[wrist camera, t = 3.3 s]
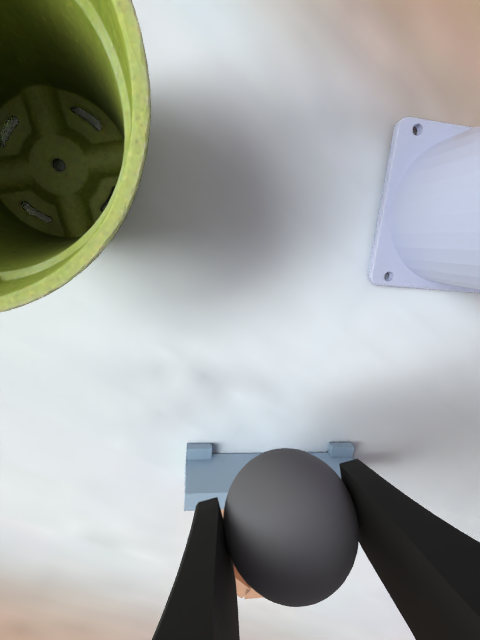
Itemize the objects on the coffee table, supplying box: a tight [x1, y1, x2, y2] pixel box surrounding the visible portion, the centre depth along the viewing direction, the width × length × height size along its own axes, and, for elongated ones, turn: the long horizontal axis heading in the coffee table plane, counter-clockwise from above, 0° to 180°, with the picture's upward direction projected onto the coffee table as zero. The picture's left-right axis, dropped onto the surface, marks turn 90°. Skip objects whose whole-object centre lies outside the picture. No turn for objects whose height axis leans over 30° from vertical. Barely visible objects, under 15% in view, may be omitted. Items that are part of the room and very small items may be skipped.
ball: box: [223, 448, 359, 607], centre depth 10 cm, size 4×4×4 cm
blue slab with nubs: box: [184, 442, 355, 511], centre depth 18 cm, size 10×2×3 cm, turn 85°
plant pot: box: [0, 0, 151, 312], centre depth 10 cm, size 9×9×9 cm
